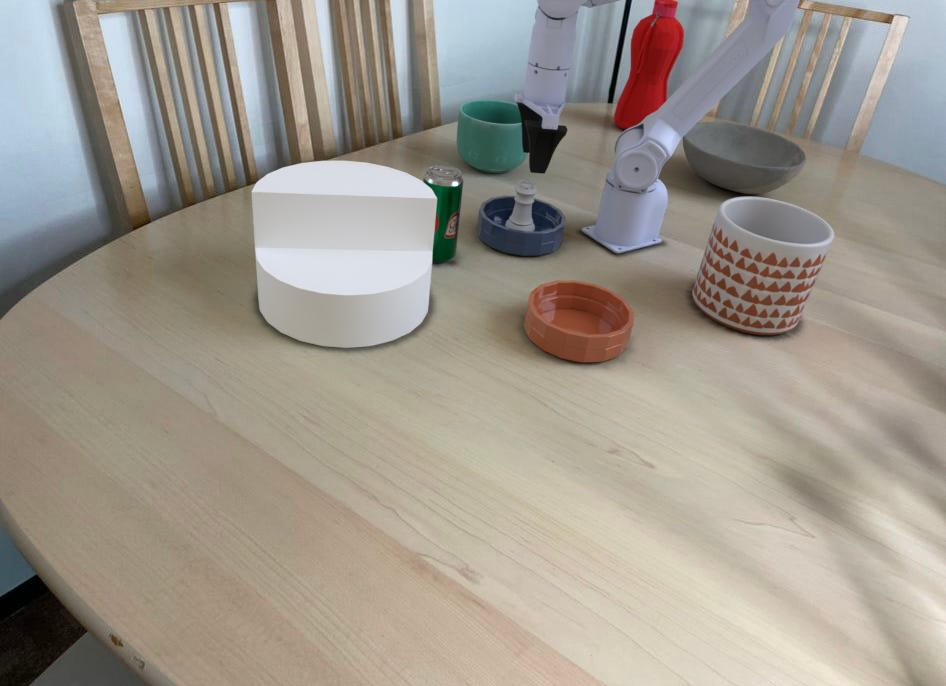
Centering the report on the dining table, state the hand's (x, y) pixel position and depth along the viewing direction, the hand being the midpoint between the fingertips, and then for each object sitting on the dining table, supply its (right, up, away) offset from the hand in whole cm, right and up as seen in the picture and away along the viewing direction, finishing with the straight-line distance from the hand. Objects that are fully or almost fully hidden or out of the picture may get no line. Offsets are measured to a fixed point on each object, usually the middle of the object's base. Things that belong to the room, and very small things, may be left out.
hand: (533, 162), depth 107 cm
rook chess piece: (-2, -11, 0) cm, 11 cm away
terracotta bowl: (+3, -25, -19) cm, 31 cm away
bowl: (+38, +3, +28) cm, 47 cm away
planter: (+27, -21, -9) cm, 35 cm away
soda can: (-14, -14, -6) cm, 21 cm away
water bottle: (+25, +19, +48) cm, 58 cm away
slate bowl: (-2, -11, +1) cm, 11 cm away
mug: (-5, +6, +24) cm, 25 cm away
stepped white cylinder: (-24, -21, -18) cm, 36 cm away
